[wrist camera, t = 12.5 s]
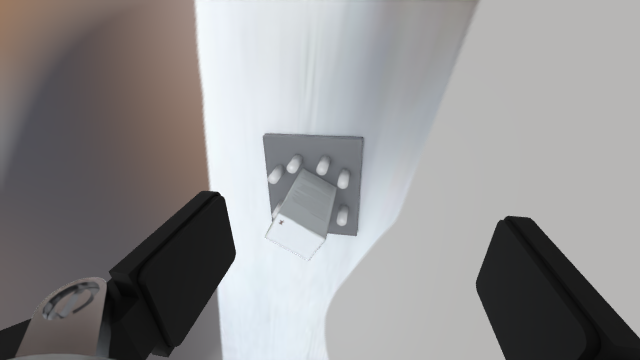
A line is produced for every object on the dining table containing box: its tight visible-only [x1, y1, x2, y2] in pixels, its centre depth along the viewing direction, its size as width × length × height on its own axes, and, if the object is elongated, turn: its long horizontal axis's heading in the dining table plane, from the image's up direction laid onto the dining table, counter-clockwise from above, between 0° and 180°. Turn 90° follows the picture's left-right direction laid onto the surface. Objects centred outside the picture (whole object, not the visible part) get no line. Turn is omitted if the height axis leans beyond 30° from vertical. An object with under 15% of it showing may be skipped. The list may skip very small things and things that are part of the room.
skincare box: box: [265, 168, 337, 261], centre depth 34 cm, size 6×4×12 cm
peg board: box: [263, 134, 363, 236], centre depth 39 cm, size 16×14×5 cm
